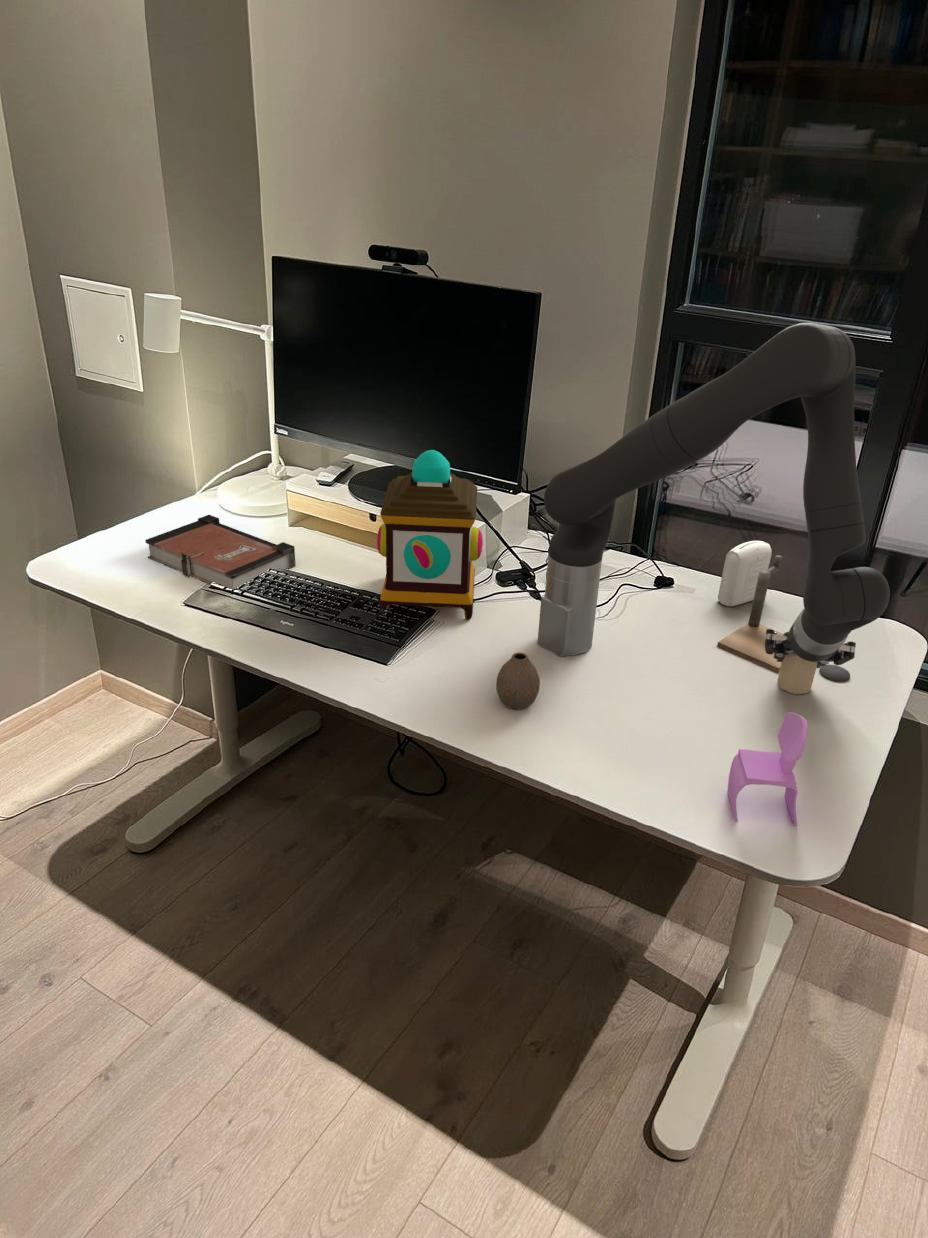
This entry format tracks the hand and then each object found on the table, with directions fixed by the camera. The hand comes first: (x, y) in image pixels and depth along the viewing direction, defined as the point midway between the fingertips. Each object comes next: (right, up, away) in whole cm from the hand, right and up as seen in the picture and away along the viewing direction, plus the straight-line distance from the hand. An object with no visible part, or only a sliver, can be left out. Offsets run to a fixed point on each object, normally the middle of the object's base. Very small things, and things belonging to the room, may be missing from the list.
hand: (798, 659), depth 151 cm
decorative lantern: (-63, +11, +24) cm, 69 cm away
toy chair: (-16, -20, -27) cm, 37 cm away
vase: (-48, -7, -7) cm, 49 cm away
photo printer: (-1, +11, +29) cm, 31 cm away
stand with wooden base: (0, +2, +13) cm, 13 cm away
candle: (-1, -5, +1) cm, 5 cm away
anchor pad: (+8, -3, +4) cm, 9 cm away
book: (-107, +18, +35) cm, 114 cm away
